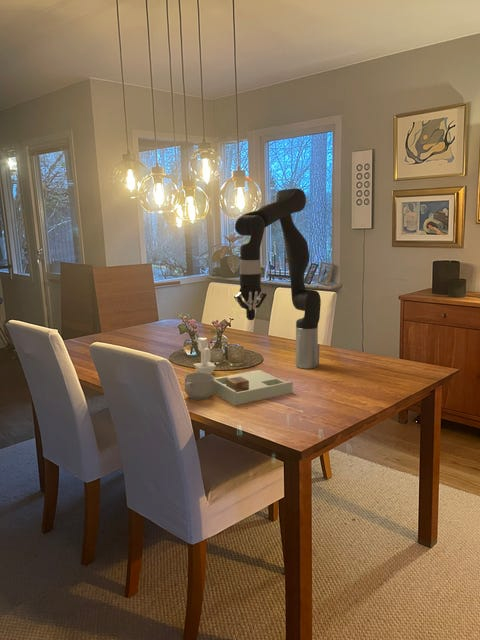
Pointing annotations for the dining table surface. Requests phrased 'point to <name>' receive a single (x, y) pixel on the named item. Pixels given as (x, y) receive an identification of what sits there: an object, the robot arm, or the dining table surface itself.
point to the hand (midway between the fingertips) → (250, 319)
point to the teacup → (199, 385)
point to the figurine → (204, 357)
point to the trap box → (252, 387)
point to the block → (238, 384)
